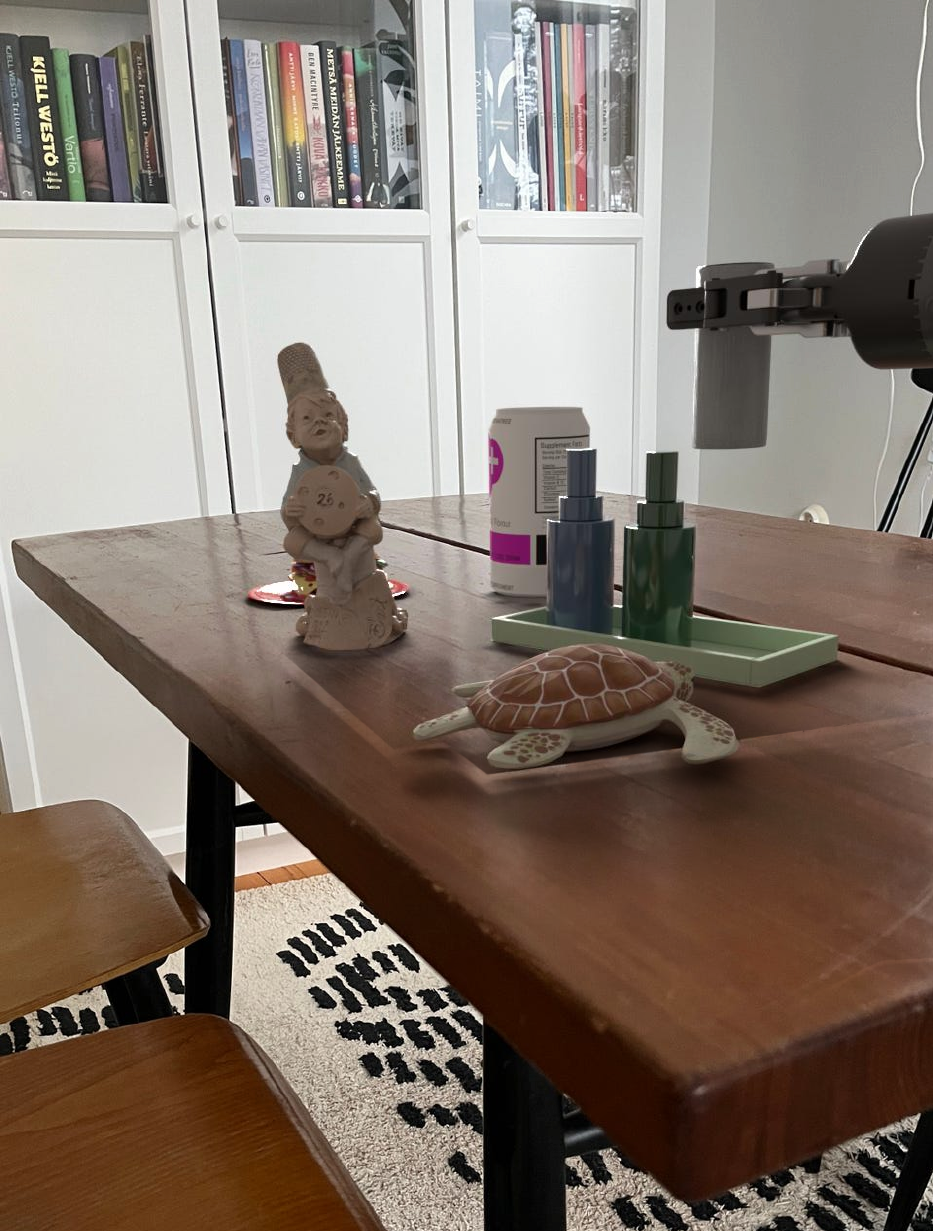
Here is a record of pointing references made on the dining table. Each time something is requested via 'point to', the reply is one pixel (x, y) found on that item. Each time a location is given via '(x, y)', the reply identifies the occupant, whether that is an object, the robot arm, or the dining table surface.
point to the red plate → (307, 584)
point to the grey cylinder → (730, 376)
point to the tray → (714, 651)
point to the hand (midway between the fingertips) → (698, 310)
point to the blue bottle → (581, 552)
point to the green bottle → (659, 560)
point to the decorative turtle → (583, 707)
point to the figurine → (333, 517)
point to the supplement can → (527, 490)
